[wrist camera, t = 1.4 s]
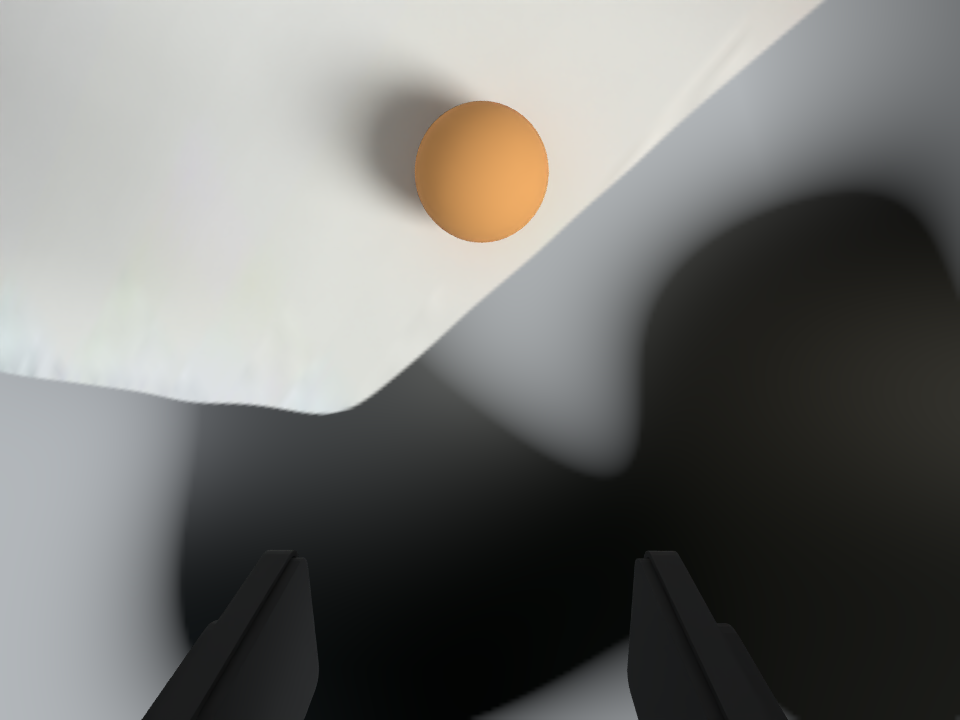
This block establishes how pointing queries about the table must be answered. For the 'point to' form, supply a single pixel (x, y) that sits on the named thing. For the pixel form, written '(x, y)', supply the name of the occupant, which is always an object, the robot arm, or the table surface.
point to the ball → (481, 171)
